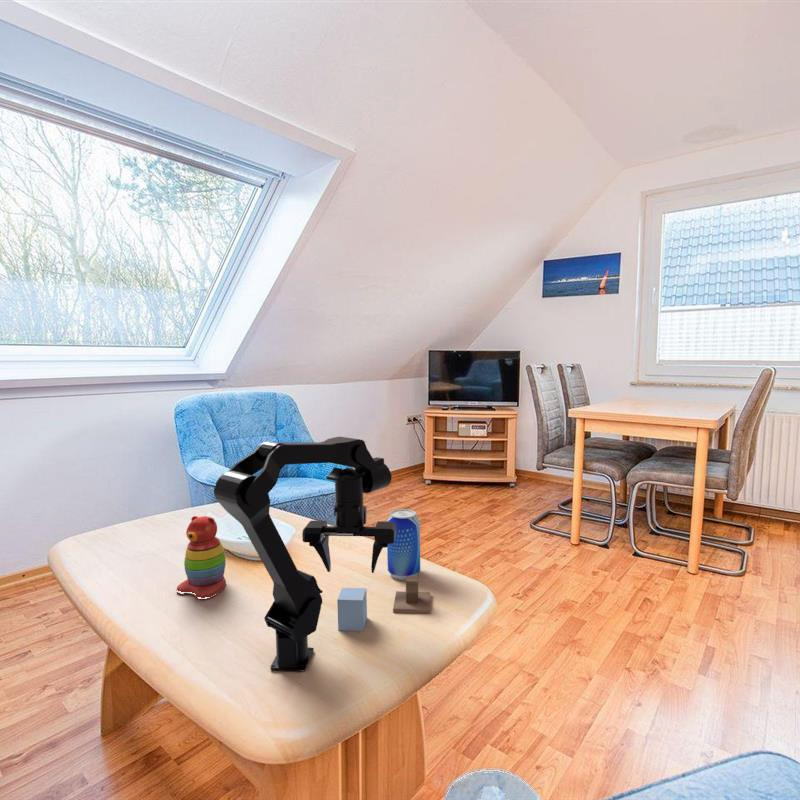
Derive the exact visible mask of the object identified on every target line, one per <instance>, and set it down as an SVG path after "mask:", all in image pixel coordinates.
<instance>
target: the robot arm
mask: <svg viewBox="0 0 800 800" xmlns="http://www.w3.org/2000/svg"><path fill="white" fill-rule="evenodd" d="M304 464H306V465H307V464H334V465H339V466H344V467H346V468H339V467H333V468H332V470H331V471H330V472H329V473H328V474H327V475H326V477H325V478H326V479H325V480H328V481H334V494H335V495H334V496H335V497H334V498H335V500H334V501H335V502H334V507H333V508H334V509H333V510H334V511H333V515H334V517H335V525H334V526H333V525H331V526H330V525H328V521H327V520H310V521H309V522H308V523H306V525H305V526H304V528H303V529H302V534H301V535H302V536H301V537H302V542H303V543H308V546H310V547H313V548H314V550H315V551H316V552H317V554H318V556H319V557H320V559H321V561H322V563H323V565H324V567H325V569H326V571H327V572H328V573H330V572H331V569H332V566H331V565H332V564H331V563H332V562H331V554H330V545H329V544H330V543H329V542H330V541H329V540H330V537H374V542H373V544H372V554H371V556H372V557H371V566H370V567H371V573H372V574H374V573H375V570H376V566H377V562H378V560H379V559H378V558H379V556H380V554H381V553H382V551H383V548H384V549H385V548H386V549H387V547H388V544H392V543H394V541H395V537H396V524H395V523H394V522H387V520H385V521H384V520H383V521H382V520H381V521H376V525H375V526H365V525H366V522H367V509H368V507H367V505H364V494H369V493H372V492H376V491H378V490H382V489H384V488H387V487H388V486H390V484H391V482H392V473H391V471H390V469H389V467H388V466H387V464H385V458H383V457H379V456H378V457H377V456H376V457H373V456H372V454H371V452H370V451H369V450H368V448H367V444H366V442H365V440H363V439H359V438H354V437H353V438H352V437H345V436H336V437H331V438H327V439H325V440H324V441H319V442H303V441H302V442H276V441H269V440H267V441H264V442H262V443H260V444H259V445H258V446H257V447H256V448H255V449H254V451H253V452H251V453H250V454H248V455H246V456H245V457H243V458H242V459H240V460H239V461H236V462H235V463H234V464H233V465H232V467H231V468H230V469H229V470H228V471H226V472H225V473H222V474H221V475H220V477H218V479H217V481H216V482H215V485H214V488H213V494H214V497H215V498H214V499H215V500H216V501H217V502H218V504H219V505H220V506H222V508H223V509H224V510H225V512H227V513H228V514H229V515H230V516H232V518H234V519H235V520H236V521H237V522H239V524H240V525H241V526H242V527H243V530H244V531H245V533H246V535H247V537H248V538H249V541H250V542H251V544H252V546H253V547H254V549H255V551H256V553H257V554H258V556H259V558H260V561H261V562H262V564H263V566H264V568H265V570H266V571H267V573H268V575H269V577H270V579H271V580H272V582H273V588H272V597H273V599H274V601H273V603H272V604H271V606H270V607H269V609H268V611H267V612H266V614H265V616H264V619H263V620H264V621H265V624H266V626H267V627H268V628H271V629H273V630H275V644H276V645H275V647H276V655H275V657H274V658H273V661H272V663H271V665H270V666H269V667H270V670H271V671H287V672H305V671H306V670H307V669H308V668H307V667H308V666H309V663H310V660H311V658H312V656H313V654H314V651H315V650H314V649H315V648H314V647H309V646H308V645H309V644H308V643H309V641H308V638H309V637H308V636H310V635H311V634H313V633H315V632H316V631H317V629H318V628H317V627H318V623H319V618H320V615H321V610H322V605H323V597H322V595H321V594H322V593H323V590H322V589H320V587H319V584H318V581H317V579H316V577H315V576H314V575H312V574H309V573H307V572H306V571H305V572H304V571H303V570H299V569H298V568H297V566H296V564H295V562H294V561H293V558H292V556H291V554H290V553H289V551H288V549H287V546H286V545H285V542H284V541H283V539H282V537H281V535H280V533H279V531H278V529H277V527H276V525H275V524H274V521H273V519H272V517H271V515H270V507H271V499H270V494H269V493H270V492H271V490H273V488H274V487H275V486H276V484H277V483H278V479H279V476H280V474H281V471H282V469H283V468H284V467H285V466H286V465H304ZM353 468H354V469H353ZM259 471H260V472H259ZM258 472H259V473H258ZM255 474H257V476H255ZM329 536H330V537H329Z"/></svg>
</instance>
